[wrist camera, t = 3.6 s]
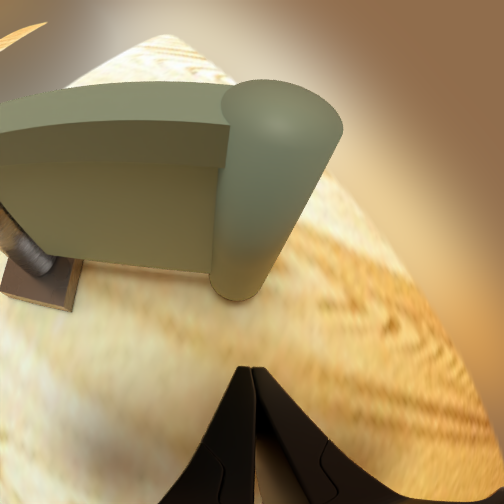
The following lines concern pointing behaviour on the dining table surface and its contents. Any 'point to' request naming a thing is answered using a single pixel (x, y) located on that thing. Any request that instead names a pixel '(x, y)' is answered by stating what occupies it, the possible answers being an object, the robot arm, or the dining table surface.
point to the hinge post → (35, 269)
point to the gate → (167, 173)
